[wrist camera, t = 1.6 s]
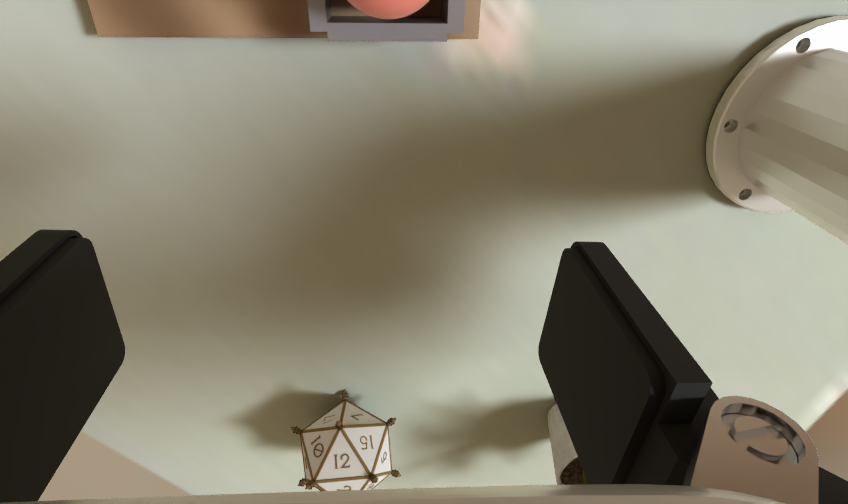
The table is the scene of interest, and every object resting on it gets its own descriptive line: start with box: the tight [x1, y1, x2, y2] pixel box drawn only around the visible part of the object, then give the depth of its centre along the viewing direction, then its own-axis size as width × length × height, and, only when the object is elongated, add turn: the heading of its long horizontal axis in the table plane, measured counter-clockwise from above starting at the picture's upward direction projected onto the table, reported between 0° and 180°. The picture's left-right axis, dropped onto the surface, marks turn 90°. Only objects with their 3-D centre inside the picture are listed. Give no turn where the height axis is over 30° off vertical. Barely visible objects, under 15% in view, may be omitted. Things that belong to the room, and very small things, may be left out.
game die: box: [291, 390, 401, 491], centre depth 40 cm, size 9×8×10 cm
